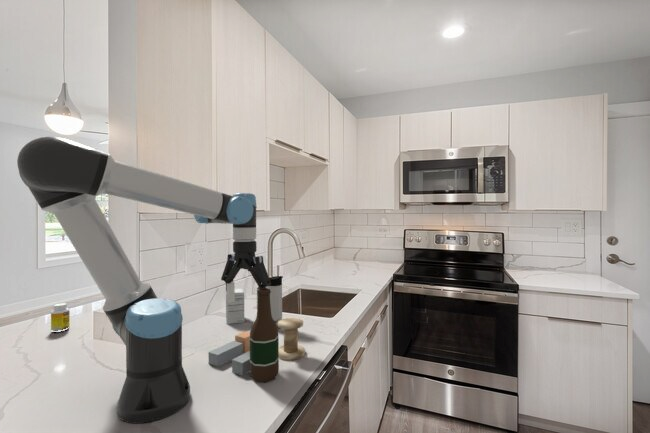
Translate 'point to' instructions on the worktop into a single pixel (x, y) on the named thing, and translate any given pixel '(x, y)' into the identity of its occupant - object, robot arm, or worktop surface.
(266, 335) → the beer bottle
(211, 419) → the worktop surface
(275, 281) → the travel mug
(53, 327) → the supplement bottle
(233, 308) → the supplement box
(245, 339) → the block
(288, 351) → the bobbin
